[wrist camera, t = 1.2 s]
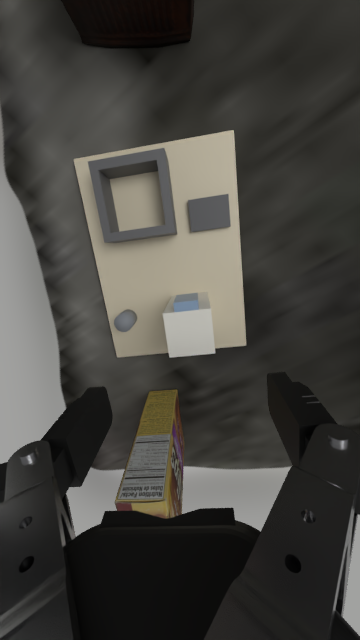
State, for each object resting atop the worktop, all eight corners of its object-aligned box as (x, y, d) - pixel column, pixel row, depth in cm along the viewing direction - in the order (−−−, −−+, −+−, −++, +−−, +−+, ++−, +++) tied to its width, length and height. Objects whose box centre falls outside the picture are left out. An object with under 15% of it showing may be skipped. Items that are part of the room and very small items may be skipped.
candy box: (187, 442, 35) (180, 583, 20) (157, 443, 35) (129, 582, 20) (180, 387, 32) (166, 503, 18) (148, 389, 33) (109, 504, 18)
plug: (206, 284, 27) (210, 298, 19) (210, 325, 28) (215, 353, 21) (171, 288, 27) (161, 304, 20) (176, 328, 29) (169, 357, 21)
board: (232, 134, 24) (239, 112, 20) (244, 342, 30) (251, 356, 26) (78, 162, 25) (57, 147, 21) (119, 354, 31) (108, 368, 27)
